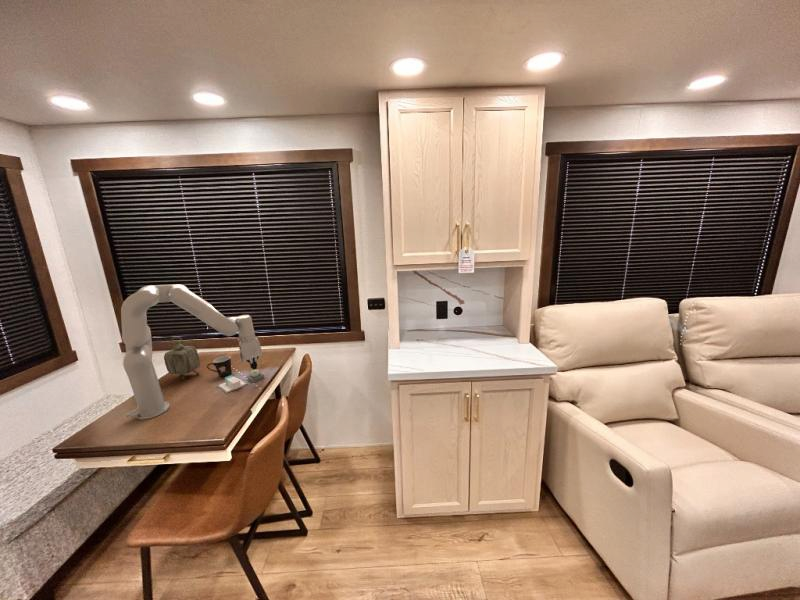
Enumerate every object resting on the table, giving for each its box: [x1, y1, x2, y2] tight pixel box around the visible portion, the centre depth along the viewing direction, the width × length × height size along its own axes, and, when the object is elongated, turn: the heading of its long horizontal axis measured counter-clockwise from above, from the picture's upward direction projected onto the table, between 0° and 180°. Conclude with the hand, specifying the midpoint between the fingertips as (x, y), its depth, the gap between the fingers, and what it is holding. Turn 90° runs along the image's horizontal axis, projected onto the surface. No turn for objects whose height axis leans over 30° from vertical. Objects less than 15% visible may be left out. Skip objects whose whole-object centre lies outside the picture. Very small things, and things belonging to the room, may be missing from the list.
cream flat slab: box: [216, 377, 249, 395], centre depth 163 cm, size 11×13×1 cm
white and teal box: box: [224, 374, 242, 391], centre depth 162 cm, size 4×11×4 cm, turn 50°
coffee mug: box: [206, 355, 233, 379], centre depth 175 cm, size 12×9×10 cm
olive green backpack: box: [163, 336, 201, 380], centre depth 174 cm, size 14×9×25 cm, turn 84°
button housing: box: [246, 371, 265, 383], centre depth 169 cm, size 6×6×2 cm
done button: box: [250, 369, 260, 378], centre depth 168 cm, size 4×4×3 cm
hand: (254, 368), depth 168 cm, fingers closed
